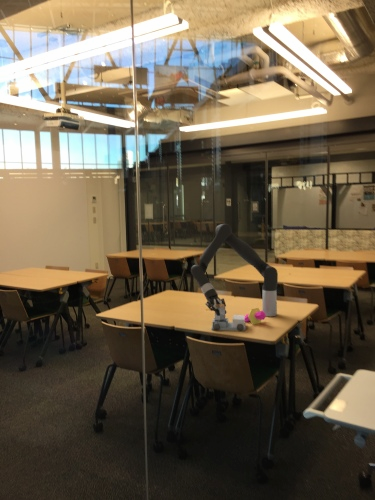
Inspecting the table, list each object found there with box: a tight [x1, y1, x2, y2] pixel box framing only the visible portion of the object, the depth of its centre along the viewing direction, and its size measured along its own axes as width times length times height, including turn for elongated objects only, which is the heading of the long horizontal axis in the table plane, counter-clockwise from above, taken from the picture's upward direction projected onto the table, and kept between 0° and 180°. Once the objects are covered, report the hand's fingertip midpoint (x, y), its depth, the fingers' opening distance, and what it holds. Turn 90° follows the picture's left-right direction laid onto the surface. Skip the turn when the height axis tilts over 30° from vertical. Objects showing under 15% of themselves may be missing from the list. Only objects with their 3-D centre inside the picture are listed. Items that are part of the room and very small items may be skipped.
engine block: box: [214, 304, 226, 322], centre depth 249 cm, size 4×4×10 cm
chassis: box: [211, 314, 246, 332], centre depth 248 cm, size 20×14×6 cm
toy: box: [245, 307, 267, 325], centre depth 257 cm, size 10×18×10 cm, turn 33°
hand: (222, 314), depth 247 cm, fingers closed on engine block, 4 cm apart
